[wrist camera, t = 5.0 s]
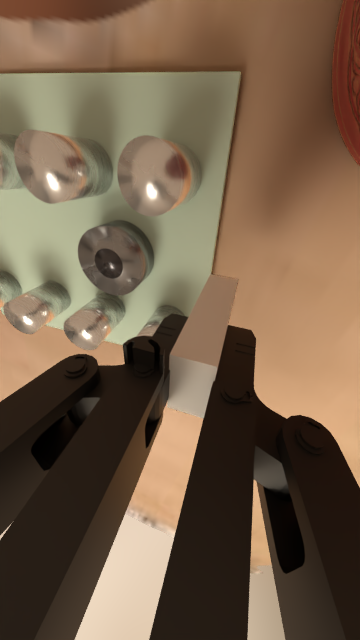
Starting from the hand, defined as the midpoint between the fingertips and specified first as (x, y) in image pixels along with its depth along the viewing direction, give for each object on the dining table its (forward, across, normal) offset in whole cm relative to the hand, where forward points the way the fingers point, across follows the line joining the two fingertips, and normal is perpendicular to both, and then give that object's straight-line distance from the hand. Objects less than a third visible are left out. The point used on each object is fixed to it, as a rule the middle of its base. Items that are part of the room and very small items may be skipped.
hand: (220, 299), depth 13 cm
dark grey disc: (+5, -8, 0) cm, 9 cm away
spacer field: (+5, -13, 0) cm, 14 cm away
